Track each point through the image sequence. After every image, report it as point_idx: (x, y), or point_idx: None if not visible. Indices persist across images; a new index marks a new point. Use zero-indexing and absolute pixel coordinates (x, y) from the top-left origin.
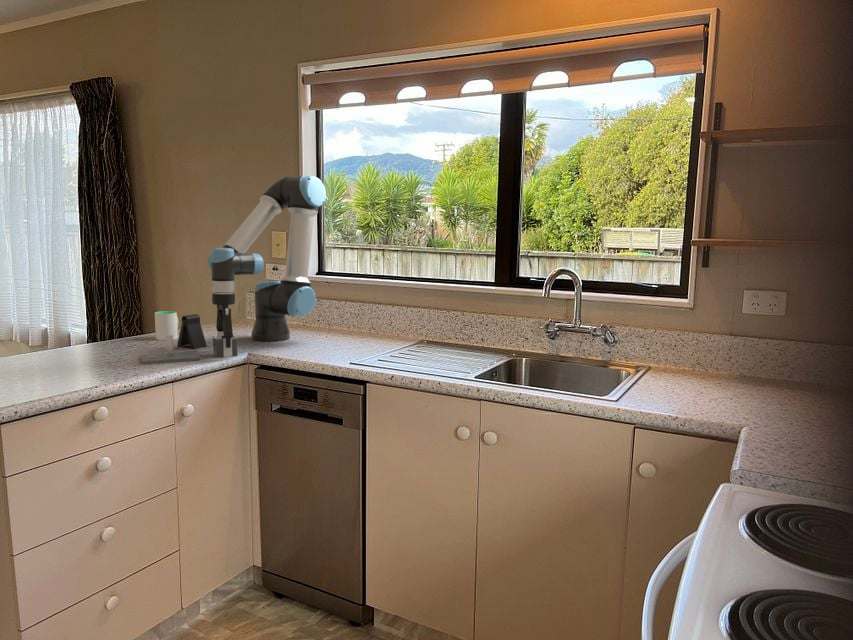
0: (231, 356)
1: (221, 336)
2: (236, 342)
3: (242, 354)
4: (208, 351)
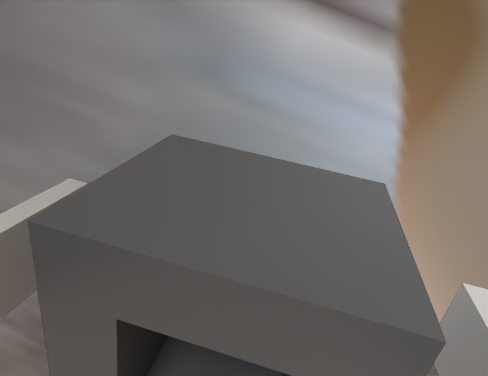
0: (484, 297)
1: (51, 372)
2: (419, 292)
3: (336, 100)
4: None
